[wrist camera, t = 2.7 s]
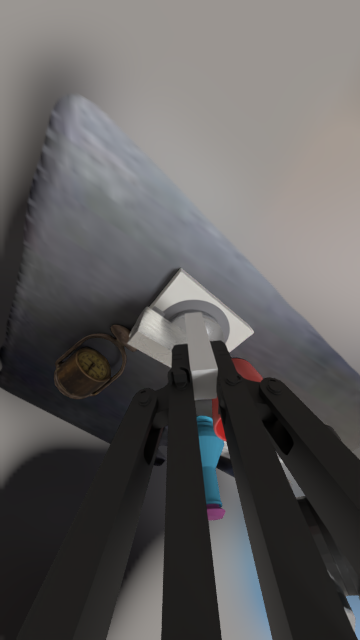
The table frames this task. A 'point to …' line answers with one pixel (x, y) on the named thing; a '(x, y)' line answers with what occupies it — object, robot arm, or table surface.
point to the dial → (167, 333)
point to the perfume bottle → (210, 465)
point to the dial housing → (199, 307)
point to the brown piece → (89, 366)
